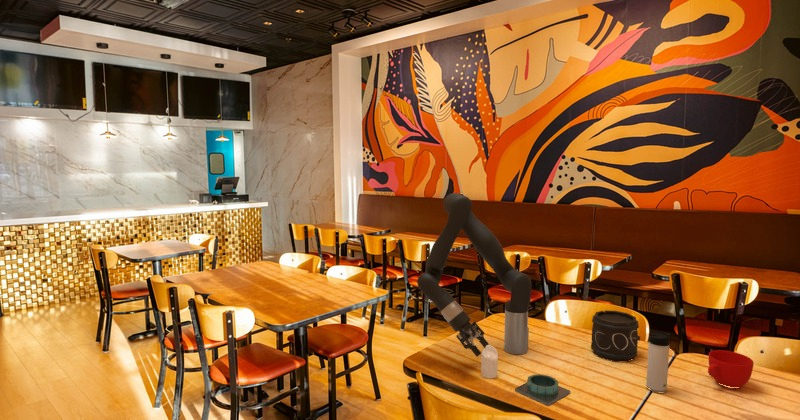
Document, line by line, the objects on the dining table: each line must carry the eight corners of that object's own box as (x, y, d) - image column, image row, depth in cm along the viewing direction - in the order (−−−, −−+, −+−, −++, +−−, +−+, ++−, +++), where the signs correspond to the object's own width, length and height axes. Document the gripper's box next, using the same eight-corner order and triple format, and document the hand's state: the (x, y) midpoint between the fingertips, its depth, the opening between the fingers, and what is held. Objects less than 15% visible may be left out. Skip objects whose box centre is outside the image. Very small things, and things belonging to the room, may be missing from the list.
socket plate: (537, 379, 174) (537, 369, 174) (570, 393, 164) (570, 382, 164) (515, 391, 166) (515, 379, 165) (547, 406, 156) (548, 394, 155)
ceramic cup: (690, 382, 172) (692, 355, 171) (722, 373, 178) (724, 347, 177) (726, 398, 160) (729, 370, 159) (760, 389, 166) (762, 361, 165)
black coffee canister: (639, 366, 185) (642, 326, 183) (589, 358, 192) (591, 320, 190) (638, 349, 201) (640, 312, 199) (592, 342, 208) (593, 307, 207)
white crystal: (496, 340, 179) (500, 346, 174) (495, 371, 181) (499, 378, 175) (480, 341, 179) (483, 347, 174) (479, 372, 180) (482, 379, 175)
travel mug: (670, 394, 163) (673, 337, 161) (649, 392, 164) (652, 336, 162) (664, 386, 169) (667, 330, 167) (643, 384, 170) (646, 329, 168)
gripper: (454, 315, 175) (483, 352, 170) (469, 305, 187) (497, 339, 182) (440, 327, 178) (469, 363, 174) (456, 316, 190) (483, 350, 186)
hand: (483, 351), depth 178 cm, fingers open, 8 cm apart
